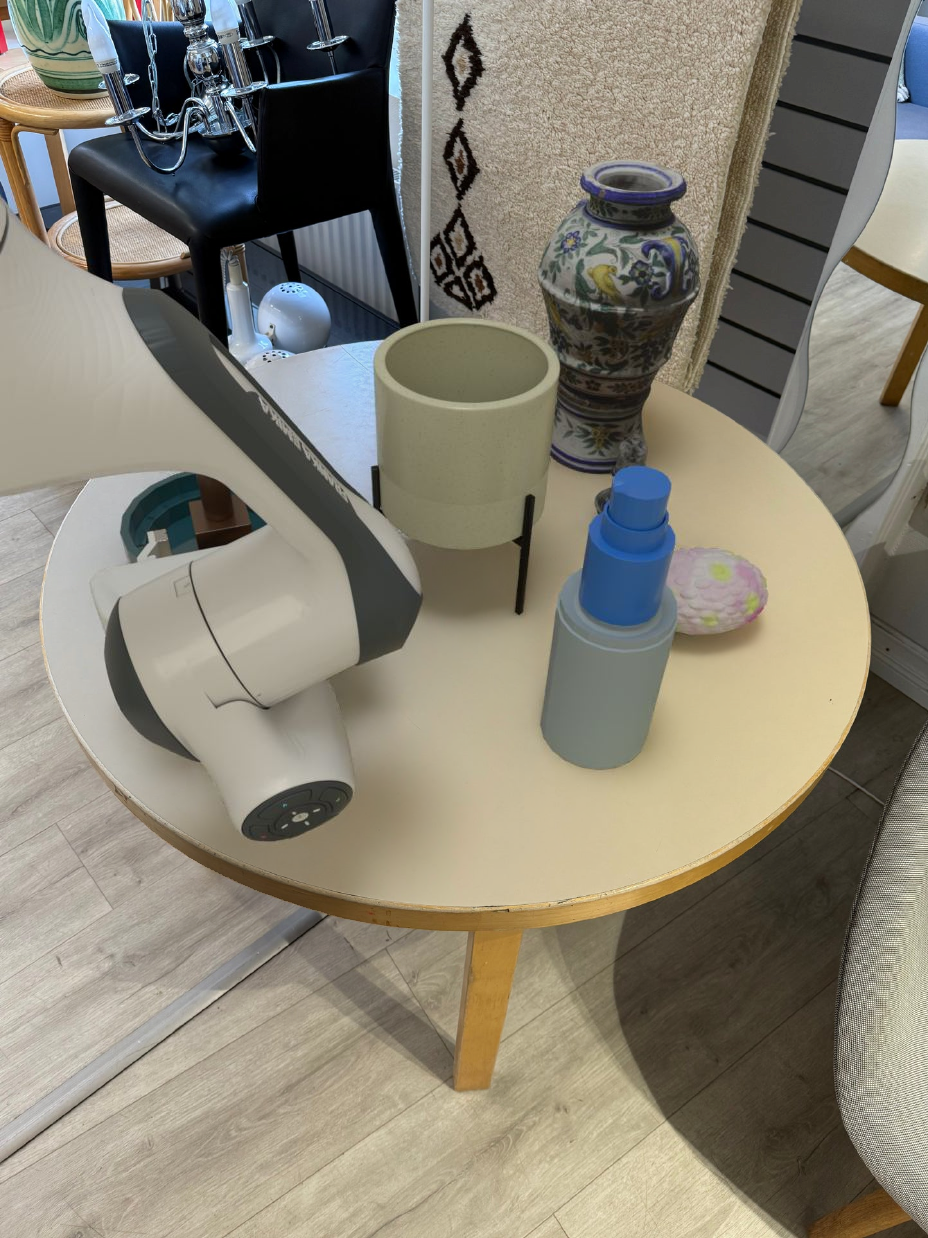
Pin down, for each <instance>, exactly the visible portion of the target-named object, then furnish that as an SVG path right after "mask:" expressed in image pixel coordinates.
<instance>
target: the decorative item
mask: <svg viewBox="0 0 928 1238" xmlns="http://www.w3.org/2000/svg"><path fill="white" fill-rule="evenodd" d="M666 585H667V586H668V587H669V588H670V589H671V590H672V592H673V594H674V596H675V599H676V601H677V627H676V631H675V633H683V634H685V635H690V636H698V635H700V636H701V635H702V636H703V635H715V634H721V633H725V632H729V631H732V630H736V629H738V628H741V627H743V626H745V625H747V624H748V623H751V622H753V621H755V620H756V619H757V618H758V616H759V615H760V614H761V613H762V612H763V610H764V609H765V606H767V604H768V599H769V590H768V589H767V588H768V585H767V579H766V577H765V576H763V572H762V571H761V569H760V568H759V567H758V566H757V565H755V564H753V563H751V562H750V561H749V560H748V559H747V558H745V557H743V556H742V555H740V554H735V553H734V552H733V551H729V550H726V549H725V550H724V549H720V548H717V547H708V548H705V547H701V546H695V547H692V548H689V549H688V548H679V549H677V550H676V551H675V550H674V551H673V556H672V560H671V564H670V568H669V572H668V576H667V580H666Z"/></svg>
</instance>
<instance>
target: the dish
mask: <svg viewBox="0 0 928 1238" xmlns="http://www.w3.org/2000/svg"><path fill="white" fill-rule="evenodd" d="M230 491H231V495H233V494H235V493H234V492H233V491H232V490H231V489H230ZM198 500H201V497H200V492H199V488H198V483H197V478H196V474H195V473H191V472H178V473H174V474H172V475H169V476H168V477H165V478H164V479H161V480H159V481H157V482H155V483H153V484H151V485H149V486H148V487H146V488H145V489H144V490H143V491H141V492H140V493H139V494H138V495H137V496H135V497H134V498H133V499H132V500H131V502H130V503H129V505H128V506H127V508H126V509H125V511H123V514H122V516H121V522H120V529H119V535H120V538H121V541H122V544H123V548H124V551H125V555H126V558H127V562H128V564H132V563H137V557H138V556H139V554H140V553H141V552H142V550H143V549H144V548H145V547H146V545H147V544H149V540H148V535H147V532H150V531H155V530H161V529H166V532H167V536H168V540H169V544H170V549H171V553H172V556H173V555H178V554H183V553H188V552H193V551H198V550H199V549H198V545H197V540H196V536H195V531H194V526H193V522H192V517H191V512H190V508H189V502H192V501H198ZM245 504H246V503H245ZM246 508H247V511H248V515H249V518H250V522H251V526H252V532H254V531H256V530H258V529H260V528H262V527H264V526H265V525H267V523H266V522H265V521H264V520H263V519H262V518H261V517H260V516H259V515H258V514H256V513H255V512H254V511H253V510H252V509H251V508H250V507H249V506H248V505H247V504H246Z"/></svg>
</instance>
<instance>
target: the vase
mask: <svg viewBox="0 0 928 1238" xmlns="http://www.w3.org/2000/svg"><path fill="white" fill-rule="evenodd" d="M579 179H580V180H579V185H580V187H581V189H582V190H583V191H584V192H585V193H586V194H588V195H589V197H583V198H581V199H580V200H579V201H578V202H577V203H576V205H575V207H573V208H572V209H571V210H570V211H569V212H568V213H567V215H566V216H565V217H564V218H563V219H562V220H561V221H560V223H558V225H557V226H556V227H555V229H554V230H553V231H552V232H551V234H550V235H549V237H548V238H547V241H546V243H545V246H544V249H543V251H542V255H541V261H540V262H539V264H538V267H537V270H536V271H537V272H536V273H537V275H536V278H537V283H538V284H539V288H540V290H541V293H542V297H543V301H544V306H545V310H546V314H547V315H546V316H547V320H548V329H549V339H548V344H549V345H550V346H551V347H552V349H553V350H554V351H555V353H556V354H557V356H558V359H559V362H560V375H559V383H558V392H557V401H556V409H555V418H554V427H553V435H552V444H551V453H550V458H552V459H554V460H555V461H557V463H559V464H561V465H563V466H565V467H567V468H569V469H571V470H574V471H578V472H582V473H587V474H595V475H606V474H607V475H609V474H611V469H612V467H613V466H615V465H616V463H617V457H618V451H619V446H620V444H621V442H623V441H624V440H625V439H628V438H633V437H632V435H634V434H635V433H637V434H638V435H639V438H638V439H641V440H642V441H644V442H645V438H644V437H645V436H644V429H643V418H642V415H643V409H644V407H645V404H646V401H648V400H647V399H648V398H649V397H650V394H651V391H652V384H653V382H654V380H655V378H656V376H657V374H658V372H659V370H660V369H661V368H662V367H663V366H664V365H666V364H667V363H668V361H670V359H671V357H672V355H673V347H674V345H675V341H676V339H677V336H678V334H679V331H680V329H681V327H682V325H683V322H684V320H685V318H686V315H687V314H688V312H689V309H690V307H691V306H692V305H693V304H694V303H695V301H696V300H697V298H698V296H699V294H700V291H701V288H702V287H701V286H702V283H701V282H702V281H701V277H700V272H701V271H700V269H701V266H700V265H701V264H700V255H699V254H700V253H699V249H698V245H697V241H696V240H695V238H694V236H693V234H692V232H691V230H689V228H688V227H687V225H686V224H685V223H684V222H683V221H682V220H681V219H680V218H679V217H678V216H677V215H676V214H675V213H674V211H673V210H672V208H671V205H672V203H674V202H677V201H679V200H681V199H683V197H684V196H685V195H686V193H687V192H688V185H687V182H686V180H685V178H684V177H683V175H682V174H681V173H679V171H678V170H675V169H673V168H671V167H669V166H666V165H663V164H660V163H655V162H652V161H651V162H650V161H646V160H638V159H613V160H605V161H601V162H600V161H599V162H597V163H594V164H591V165H590V166H589V167H587V168H586V169H585V170H584V171H583V172H582V174H581V176H580V178H579Z"/></svg>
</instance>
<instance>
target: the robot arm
mask: <svg viewBox="0 0 928 1238" xmlns="http://www.w3.org/2000/svg"><path fill="white" fill-rule="evenodd" d="M152 472H153V473H154V472H180V473H182V472H191V473H196V474H202V475H205V476H208V477H211V478H214V479H216V480H218V481H220V482H222V483H223V484H225V485H226V486H227V487H228V488H229V489H231V490H232V491H233V492H234V493H235V494H236V495H237V496H238V497H239V498H240V499H241V500H242V501H243V502H245V503H246V504H247V505H248V506H249V507H250V508H251V509H252V510H253V511H254V512H255V513H256V514H258V515H259V516H260V517H261V518H262V519H263V520H264V521H265V522H266V523H267V525H265V526H264V527H262V528H260V529H258V530H256V531H254V532H252V533H250V534H248V535H246V536H244V537H242V538H240V539H238V540H236V541H234V542H232V543H230V544H227V545H224V546H219V547H214V548H209V549H204V550H198V551H193V552H188V553H183V554H178V555H173V556H172V553H171V549H170V544H169V540H168V536H167V532H166V529H161V530H155V531H150V532H147V535H148V540H149V544H147V545H146V547H145V548H144V549H143V550H142V552H141V553H140V554H139V556H138V557H137V563H132V564H129V563H128V564H122V565H118V566H112V567H107V568H102V569H99V570H97V572H96V573H95V574H94V575H93V576H92V578H90V580H89V588H90V589H89V590H90V593H91V596H92V599H93V603H94V606H95V610H96V612H97V616H98V618H99V622H100V624H101V627H102V630H103V631H104V635H105V637H104V646H103V656H104V658H103V659H104V664H105V670H106V675H107V678H108V681H109V685H110V688H111V692H112V694H113V696H114V699H115V701H116V703H117V706H118V708H119V710H120V711H121V713H122V715H123V716H124V718H125V719H126V720H127V721H128V723H129V724H130V726H132V727H133V729H134V730H135V731H137V733H138V734H139V735H141V736H142V737H143V738H144V739H146V740H147V741H149V742H150V743H152V744H155V745H156V746H158V747H161V748H162V749H165V750H167V751H168V752H171V753H173V754H175V755H178V756H180V757H182V758H184V759H187V760H189V761H192V762H196V763H201V765H202V766H203V768H204V769H205V770H206V772H207V773H208V775H209V777H210V779H211V780H212V781H213V784H214V786H215V787H216V790H217V791H218V794H219V795H220V798H221V800H222V803H223V805H224V807H225V810H226V812H227V815H228V817H229V819H230V821H231V823H232V825H233V827H234V828H235V830H236V831H237V832H238V833H239V834H240V835H241V836H243V837H244V838H245V839H247V840H250V841H255V842H269V843H273V842H278V841H284V840H291V839H294V838H296V837H299V836H301V835H303V834H306V833H308V832H310V831H312V830H314V829H316V828H318V827H320V826H322V825H324V824H325V823H327V822H329V821H331V820H333V819H335V817H337V816H339V815H340V813H342V812H343V810H345V809H346V808H347V807H348V805H349V804H350V803H351V802H352V799H353V797H354V795H355V792H356V791H355V790H356V777H355V767H354V762H353V756H352V755H353V754H352V751H351V750H352V749H351V745H350V740H349V736H348V731H347V728H346V724H345V720H344V717H343V714H342V711H341V708H340V705H339V701H338V698H337V696H336V693H335V691H334V689H333V686H332V684H331V683H330V681H329V680H328V679H329V678H331V677H333V676H336V675H338V674H339V673H342V672H343V671H346V670H347V669H349V668H352V667H354V666H355V667H358V666H361V665H364V664H366V663H368V662H371V661H373V660H376V659H379V658H381V657H384V656H386V655H388V654H391V653H394V652H396V651H399V650H400V649H403V647H404V646H405V644H406V642H407V640H408V638H409V636H410V634H411V632H412V631H413V628H414V626H415V623H416V621H417V619H418V616H419V613H420V610H421V607H422V604H423V601H424V593H423V590H422V583H421V579H420V574H419V570H418V568H417V565H416V562H415V560H414V557H413V556H412V552H411V551H410V548H409V547H408V546H407V544H406V542H405V540H404V539H403V537H402V535H401V534H400V533H399V531H398V529H397V528H396V527H394V526H393V525H392V524H391V523H390V522H389V520H388V519H386V518H385V517H384V516H383V515H382V514H381V513H380V512H379V511H377V510H376V509H375V508H374V507H373V505H372V504H371V503H370V502H369V501H368V500H367V499H366V497H364V496H363V495H362V494H361V493H360V492H359V491H358V490H357V489H355V488H354V487H353V486H352V485H351V484H350V483H349V482H348V481H347V480H345V478H343V477H342V476H341V474H340V473H338V471H337V470H336V469H335V467H334V466H333V465H332V464H331V463H330V462H329V461H328V460H327V459H326V457H324V455H323V454H322V453H321V452H320V451H319V450H318V448H316V445H314V444H313V443H312V441H311V440H310V439H309V437H307V436H306V435H305V434H304V432H303V431H302V430H301V429H300V428H299V427H298V426H297V425H296V423H295V422H294V421H293V420H292V419H291V418H290V417H289V416H288V414H287V413H286V412H285V411H284V410H283V409H282V408H281V406H280V405H279V404H278V403H277V402H276V401H275V400H274V399H273V398H272V396H271V395H270V394H269V393H268V392H267V390H265V388H264V387H263V386H262V385H261V384H260V382H258V381H257V379H256V378H255V377H254V376H253V375H252V373H250V372H249V371H248V370H247V369H246V367H244V366H243V364H242V363H241V362H240V361H239V360H238V359H237V358H236V357H235V356H234V355H233V354H232V353H231V352H230V351H229V349H228V348H227V347H226V346H225V344H223V343H222V342H221V341H220V340H219V339H218V337H216V336H215V335H214V334H213V333H212V332H211V331H210V329H208V328H207V327H206V326H205V325H204V323H202V322H201V321H200V320H199V319H198V318H197V317H196V316H194V315H193V313H191V312H190V311H189V310H187V309H186V308H185V307H184V306H183V305H182V304H181V303H179V302H178V301H176V300H175V299H173V298H172V297H170V296H169V295H168V294H166V293H165V292H163V291H162V290H160V289H156V288H155V289H154V288H145V287H136V286H135V287H134V286H124V287H122V286H120V285H118V284H115V283H112V282H110V281H109V280H108V281H107V280H105V279H103V278H101V277H99V276H97V275H95V274H94V273H93V274H92V273H91V272H89V271H87V270H86V269H83V268H82V267H80V266H78V265H76V264H75V263H73V262H72V261H70V260H68V259H67V258H65V257H64V256H63V255H61V254H60V253H58V252H56V251H55V250H54V249H52V248H51V247H50V246H49V245H47V244H46V243H45V242H44V241H43V240H41V239H40V238H39V237H38V236H37V235H36V234H35V233H34V232H32V230H30V229H29V228H28V227H27V226H26V225H25V224H24V223H23V221H22V220H21V219H20V218H19V217H18V216H17V214H16V213H15V212H14V211H13V210H12V208H11V207H10V206H9V204H8V203H7V201H6V200H5V199H4V198H3V197H2V195H1V194H0V498H3V497H10V496H16V495H20V494H26V493H30V492H35V491H39V490H43V489H47V488H52V487H57V486H62V485H67V484H71V483H76V482H81V481H82V482H83V481H87V480H93V479H99V478H106V477H111V476H112V477H113V476H119V475H128V474H138V473H152Z"/></svg>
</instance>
